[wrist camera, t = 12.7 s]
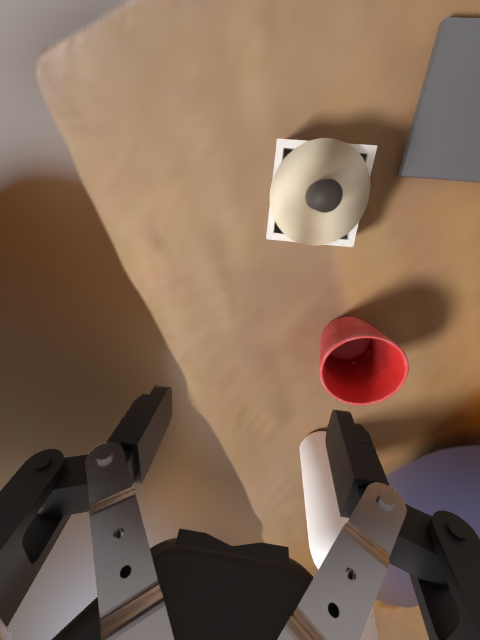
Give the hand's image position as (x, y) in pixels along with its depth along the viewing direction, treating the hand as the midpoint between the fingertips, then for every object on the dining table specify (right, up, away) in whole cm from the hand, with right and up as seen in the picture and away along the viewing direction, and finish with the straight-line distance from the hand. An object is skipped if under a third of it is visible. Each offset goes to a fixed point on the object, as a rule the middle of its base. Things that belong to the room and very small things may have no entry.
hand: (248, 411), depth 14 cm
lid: (+9, +19, +18) cm, 27 cm away
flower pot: (+16, +2, +31) cm, 35 cm away
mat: (+28, +28, +17) cm, 43 cm away
